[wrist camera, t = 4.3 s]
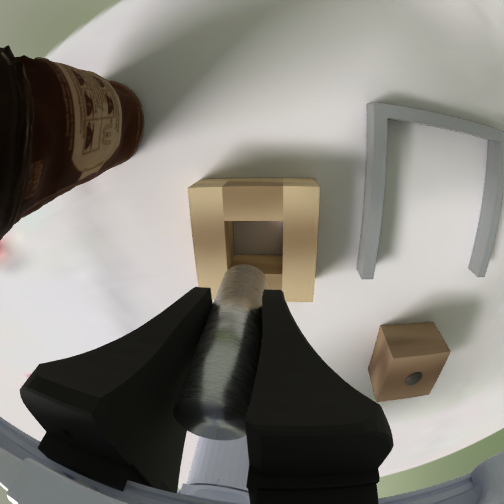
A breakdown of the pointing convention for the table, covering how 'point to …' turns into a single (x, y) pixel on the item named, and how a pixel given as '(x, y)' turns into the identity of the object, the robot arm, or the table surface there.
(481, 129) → the grey arch piece
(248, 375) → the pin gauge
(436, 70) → the table surface
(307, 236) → the oak block
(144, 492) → the robot arm
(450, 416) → the table surface
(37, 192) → the coffee cup
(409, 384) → the walnut block
